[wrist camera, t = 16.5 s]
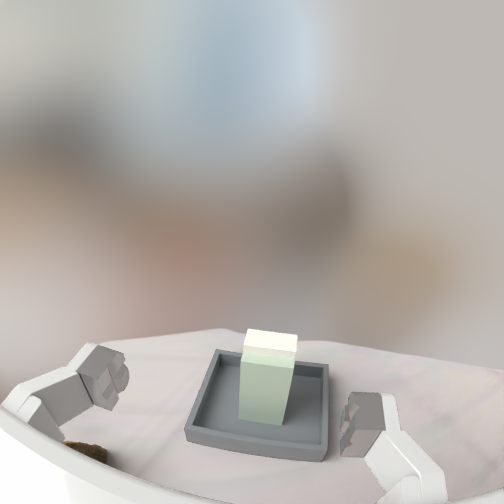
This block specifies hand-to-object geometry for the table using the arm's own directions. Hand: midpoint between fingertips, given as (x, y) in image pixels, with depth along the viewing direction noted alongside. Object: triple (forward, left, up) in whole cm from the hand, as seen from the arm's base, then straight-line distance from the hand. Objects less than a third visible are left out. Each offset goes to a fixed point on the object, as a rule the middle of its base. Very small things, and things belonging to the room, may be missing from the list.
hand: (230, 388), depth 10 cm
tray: (0, -21, -30) cm, 37 cm away
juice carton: (0, -21, -29) cm, 36 cm away
